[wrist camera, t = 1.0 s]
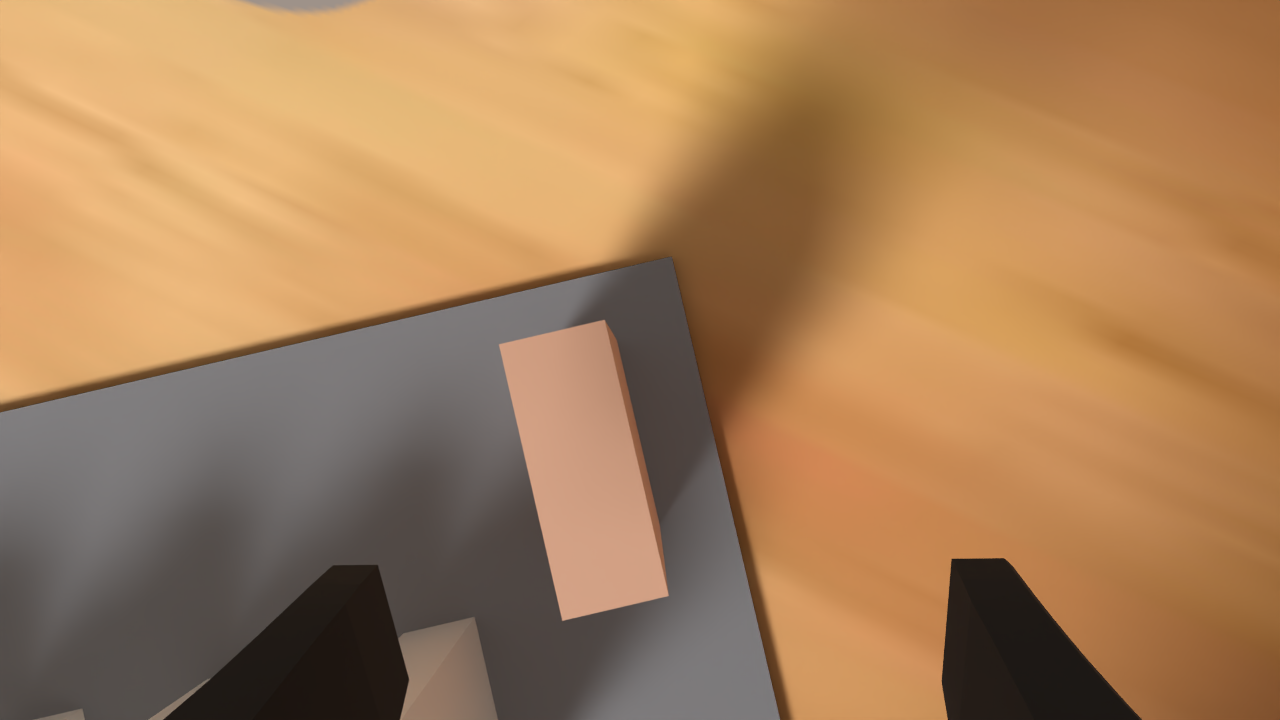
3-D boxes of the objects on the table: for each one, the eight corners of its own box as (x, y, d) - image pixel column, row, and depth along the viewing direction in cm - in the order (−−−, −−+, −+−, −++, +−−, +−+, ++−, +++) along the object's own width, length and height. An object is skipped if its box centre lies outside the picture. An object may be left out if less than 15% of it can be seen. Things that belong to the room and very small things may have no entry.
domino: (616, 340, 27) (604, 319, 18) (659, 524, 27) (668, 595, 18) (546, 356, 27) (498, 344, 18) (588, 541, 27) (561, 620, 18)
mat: (671, 258, 28) (671, 256, 27) (802, 820, 27) (805, 827, 27) (-413, 510, 28) (-428, 511, 27) (-294, 1078, 27) (-308, 1088, 27)
